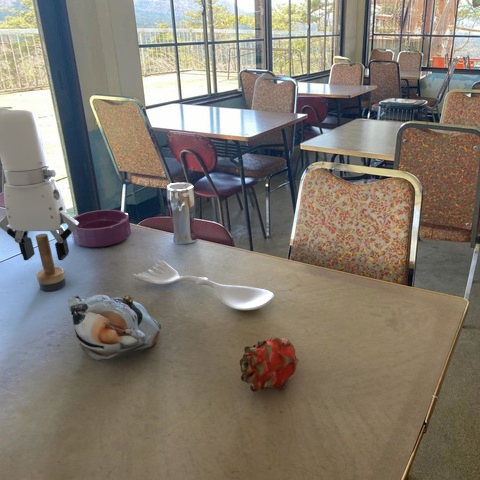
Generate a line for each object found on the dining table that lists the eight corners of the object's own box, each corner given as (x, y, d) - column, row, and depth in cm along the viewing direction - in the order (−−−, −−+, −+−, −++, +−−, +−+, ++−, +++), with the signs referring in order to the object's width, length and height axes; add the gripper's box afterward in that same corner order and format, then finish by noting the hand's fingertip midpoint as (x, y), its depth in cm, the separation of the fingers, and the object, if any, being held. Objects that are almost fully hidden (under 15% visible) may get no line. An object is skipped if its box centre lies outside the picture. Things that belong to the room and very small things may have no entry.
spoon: (160, 269, 112) (158, 256, 111) (281, 300, 101) (281, 286, 99) (132, 286, 105) (130, 272, 103) (259, 322, 93) (259, 307, 92)
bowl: (63, 249, 121) (59, 229, 119) (86, 228, 134) (83, 209, 132) (120, 249, 122) (117, 229, 120) (138, 228, 135) (135, 209, 133)
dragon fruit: (240, 411, 74) (286, 377, 84) (278, 400, 69) (322, 366, 79) (217, 360, 74) (266, 332, 84) (254, 346, 69) (300, 319, 79)
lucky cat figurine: (176, 333, 89) (163, 295, 78) (129, 388, 82) (107, 354, 71) (115, 295, 93) (94, 253, 82) (66, 344, 86) (35, 306, 75)
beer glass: (192, 246, 125) (187, 191, 119) (167, 244, 125) (160, 189, 119) (202, 236, 131) (198, 183, 125) (178, 234, 132) (172, 181, 126)
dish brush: (34, 292, 102) (22, 240, 97) (46, 280, 107) (35, 230, 102) (59, 292, 102) (48, 240, 97) (70, 280, 107) (60, 230, 102)
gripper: (80, 170, 98) (95, 250, 105) (-7, 170, 97) (14, 250, 105) (63, 181, 91) (80, 265, 99) (-30, 180, 91) (-6, 265, 98)
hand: (46, 256), depth 101 cm, fingers open, 6 cm apart
